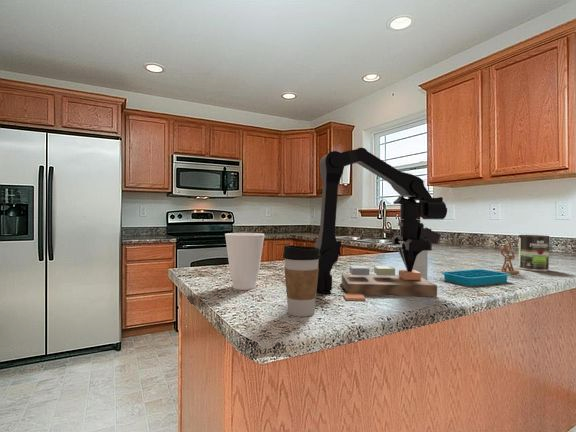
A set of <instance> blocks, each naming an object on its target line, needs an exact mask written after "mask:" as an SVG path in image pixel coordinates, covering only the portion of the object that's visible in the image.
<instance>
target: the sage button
mask: <svg viewBox="0 0 576 432" xmlns="http://www.w3.org/2000/svg"><path fill="white" fill-rule="evenodd" d="M373 266H374V268H373V269H374V270H373V272H374V274H375V275H386V276H395V275H396V268H395V267H393V266H391V265H373Z"/></svg>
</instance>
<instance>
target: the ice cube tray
mask: <svg viewBox="0 0 576 432" xmlns="http://www.w3.org/2000/svg"><path fill="white" fill-rule="evenodd" d="M496 271H497V270H496ZM496 271H493V270H491V269H490V270H489V269H482V268H479V269H465V270H451V271H450V270H449V271H441V274H442V275H443V276H444V281H445V282H450V283H453V284H457V285H463V286H465V287H475V286H477V287H478V286H484V285H493V284H505V283H508V276H511V274H507V273H502V272H496Z"/></svg>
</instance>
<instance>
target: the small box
mask: <svg viewBox="0 0 576 432" xmlns="http://www.w3.org/2000/svg"><path fill="white" fill-rule="evenodd" d="M412 270H416V271H418V272H420V273H421V277H422V278H424V279H426V280H428V251H424V250H423V251H422V252H420V253H419V254H418V255H417V257H416V260H415V263H414V266H413V269H412Z"/></svg>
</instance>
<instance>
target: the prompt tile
mask: <svg viewBox="0 0 576 432" xmlns="http://www.w3.org/2000/svg"><path fill="white" fill-rule="evenodd" d="M343 297H344V300H345V301H357V302H358V301H359V302H361V301H362V302H365V301H366V297H365V295H362V294H348V293H347V292H346V293H345V292H344V293H343Z"/></svg>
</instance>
